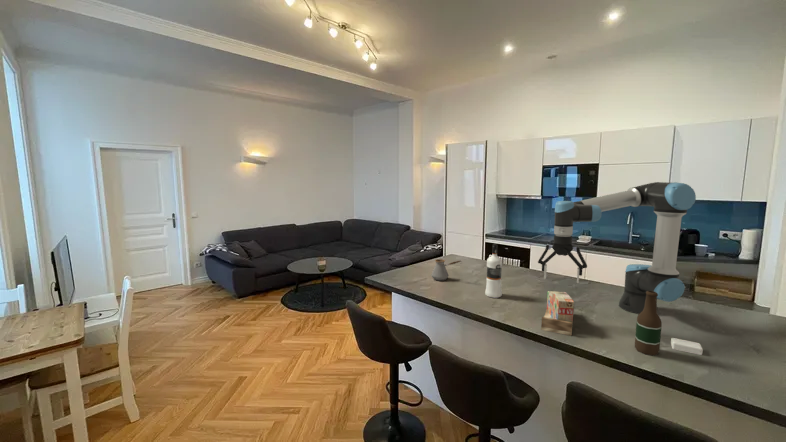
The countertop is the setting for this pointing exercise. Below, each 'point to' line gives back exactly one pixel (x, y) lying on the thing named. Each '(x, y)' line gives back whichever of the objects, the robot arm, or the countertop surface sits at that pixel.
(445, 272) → the coffee pot
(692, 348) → the soap
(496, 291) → the vodka
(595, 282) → the countertop surface
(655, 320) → the beer bottle
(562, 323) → the cradle
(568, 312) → the stack of blocks
